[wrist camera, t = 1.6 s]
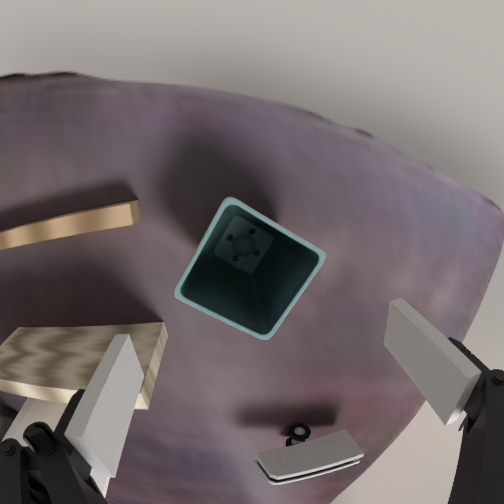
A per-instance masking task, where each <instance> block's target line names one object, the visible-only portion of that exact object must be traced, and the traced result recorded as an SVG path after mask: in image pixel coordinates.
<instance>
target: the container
mask: <svg viewBox="0 0 504 504" xmlns="http://www.w3.org/2000/svg"><path fill="white" fill-rule="evenodd" d="M66 406H68V404H67V403H60V402H53V401H47V400H41V399H36V398H30V397H28V399H27V400H26V402H25V404H24V405H23V407H22V408H21V410H20V411H19V413H18V415H17V416H16V418H15V419H14V421H13V423H12V424H11V426H10V428H9V430H8V431H7V433H6V435H5V436H4V438H3V440H2V441H4V440H5V439H8V438H14V439H16V440H17V441H18V442H19V443H20V444H21V445H22V446H28V445H27V444H26V442H25V441H24V440H23V433H24V431H25V429H26V428H27V427H28V426H29V425H30V424H32V423H34V422H38V421H40V422H45V423H46V424H48V425H49V427H50V428H51V429H52V431H53V432H54V430H55V428H56V426H57V424H58V422H59V420H60V418H61V416H62V414H63V413H64V410H65V408H66ZM0 444H1V443H0ZM90 475H91V476H92V477H93V479H94V481H95V482H96V484H97V486H98V488H99V490H100V491H101V493H102V495H103V496H104V498H105V496H106V491H107V487H108V483H109V479H110V477H106V476H101V475H98V474H97V473H96V472H95V471H94V470H93V469H91V473H90Z"/></svg>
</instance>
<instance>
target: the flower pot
mask: <svg viewBox="0 0 504 504" xmlns="http://www.w3.org/2000/svg"><path fill="white" fill-rule="evenodd" d="M250 229H253V230H254V233H253V234H250V233H249V230H250ZM228 235H232V239H228ZM255 250H259V251H260V253H259V254H258V255H256V254H255ZM234 256H238V259H237V260H235V259H234V258H233V257H234ZM325 258H326V253H325V252H324V251H323V250H321V249H320V248H318V247H316V246H315V245H313V244H311V243H309V242H308V241H306V240H304V239H303V238H301V237H299V236H297V235H296V234H294V233H292V232H291V231H289V230H287V229H286V228H284V227H282V226H281V225H279V224H277V223H276V222H274V221H272V220H271V219H269V218H267V217H266V216H264V215H262V214H261V213H259V212H257V211H256V210H254V209H253V208H251V207H249V206H248V205H246V204H244V203H243V202H241V201H240V200H238V199H236V198H234V197H227V198H225V199H224V200H223V202H222V203H221V205H220V207H219V209H218V211H217V213H216V214H215V216H214V218H213V220H212V221H211V223H210V225H209V227H208V229H207V231H206V232H205V234H204V236H203V238H202V240H201V241H200V243H199V245H198V247H197V249H196V251H195V252H194V254H193V256H192V258H191V260H190V262H189V263H188V265H187V267H186V269H185V271H184V272H183V274H182V276H181V278H180V279H179V281H178V283H177V285H176V287H175V289H174V292H173V294H174V296H175V297H176V298H177V299H179V300H180V301H182V302H184V303H186V304H188V305H190V306H192V307H194V308H196V309H198V310H201V311H202V312H204V313H206V314H208V315H210V316H212V317H215V318H217V319H219V320H221V321H223V322H225V323H227V324H229V325H231V326H233V327H235V328H237V329H239V330H242V331H244V332H246V333H248V334H250V335H252V336H255V337H257V338H259V339H262V340H268V339H269V338H270V337H272V335H273V334H274V333H275V331H276V330H277V329H278V327H279V326H280V325H281V323H282V322H283V320H284V319H285V317H286V316H287V314H288V313H289V311H290V310H291V308H292V307H293V306H294V304H295V303H296V301H297V300H298V298H299V297H300V296H301V294H302V293H303V292H304V290H305V289H306V287H307V286H308V284H309V283H310V282H311V280H312V279H313V277H314V276H315V274H316V273H317V271H318V270H319V268H320V267H321V265H322V264H323V262H324V260H325Z"/></svg>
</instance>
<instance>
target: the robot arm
mask: <svg viewBox="0 0 504 504" xmlns="http://www.w3.org/2000/svg"><path fill="white" fill-rule="evenodd" d="M384 345H385V347H386V348H387V349H388V350H389V352H390V353H391V354H392V355H393V357H394V358H395V359H396V361H397V362H398V363H399V364H400V366H401V367H402V368H403V370H404V371H405V372H406V373H407V375H408V376H409V377H410V379H411V380H412V381H413V383H414V384H415V385H416V387H417V388H418V389H419V391H420V392H421V393H422V395H423V396H424V397H425V399H426V400H427V401H428V403H429V404H430V405H431V407H432V408H433V409H434V411H435V412H436V414H437V415H438V416H439V418H440V419H441V420H442V422H443V423H444V425H445V426H446V425H448V424H450V423H452V422H454V421H456V420H458V419H459V417H460V415H461V413H462V412H463V410H464V411H465V412H466V413H467V415H466V417H465V419H464V420H463V422H462V424H461V426H460V428H459V430H458V431H460V430H461V429H462V427H463V426H464V429H463V437H462V443H461V449H460V455H459V460H458V465H457V470H456V474H455V478H454V482H453V486H452V490H451V494H450V498H449V501H448V504H504V371H503V370H499V369H493V370H489V369H488V368H487V367H486V366H485V365H484V364H483V363H482V362H481V361H480V360H479V359H478V358H477V357H476V356H475V355H474V354H471V352H470V351H469V350H468V349H466V347H465V346H464V345H463V344H462V343H461V342H459V341H457V340H455V339H453V338H451V337H450V338H446V337H445V336H444V335H443V334H442V333H441V332H439V331H438V330H437V329H436V328H435V327H434V326H433V325H432V324H431V323H429V322H428V321H427V320H426V319H425V318H424V317H423V316H422V315H420V314H419V313H418V312H417V311H416V310H415V309H414V308H413V307H411V306H410V305H409V304H408V303H407V302H406V301H404V300H403V299H402V298H400V299H396V300H391V301H390V304H389V312H388V319H387V326H386V332H385V339H384ZM143 379H144V374H143V371H142V368H141V366H140V363H139V361H138V358H137V355H136V352H135V350H134V347H133V344H132V341H131V338H130V335H129V334H116V335H115V336H114V338H113V340H112V342H111V343H110V345H109V347H108V349H107V351H106V352H105V354H104V356H103V358H102V360H101V362H100V363H99V365H98V367H97V369H96V371H95V373H94V375H93V377H92V378H91V380H90V382H89V384H88V386H87V388H86V389H79V390H78V391H77V392H76V393H75V394H74V395H72V397H71V399H70V401H69V403H68V406H66V408H65V410H64V413H63V414H62V416H61V418H60V420H59V422H58V424H57V426H56V428H55V430H54V432H53V431H52V429H51V428H50V427H49V425H48V424H46V423H45V422H40V421H38V422H34V423H32V424H30V425H29V426H28V427H27V428H26V429H25V431H24V433H23V440H24V441H25V442H26V444H27V445H28V446H22V445H21V444H20V443H19V442H18V441H17V440H16V439H14V438H8V439H5V440H4V441H2V440H3V438H4V436H5V435H6V433H7V431H8V430H9V428H10V426H11V424H12V423H13V421H14V419H15V418H16V416H17V415H18V414H17V413H15V412H13V411H10V410H3V411H2V412H1V414H0V443H1V444H0V504H108V503H107V501H106V500H105V498H104V496H103V495H102V493H101V491H100V490H99V488H98V486H97V484H96V482H95V481H94V479H93V477H92V476H91V475H90V473H91V469H93V470H94V471H95V472H96V473H97V474H98V475H101V476H106V477H112V478H115V476H116V472H117V468H118V464H119V461H120V457H121V453H122V449H123V446H124V442H125V438H126V435H127V431H128V428H129V425H130V421H131V418H132V414H133V411H134V408H135V404H136V401H137V398H138V395H139V392H140V388H141V385H142V382H143Z"/></svg>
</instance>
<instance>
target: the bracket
mask: <svg viewBox="0 0 504 504" xmlns="http://www.w3.org/2000/svg"><path fill="white" fill-rule="evenodd" d="M288 433H289V435H290V438H288V439H287V440H286V447H284V448H280V449H276V450H272V451H267V452H263V453H258V454H256V456H255V457H256V459H257V461H255V464H256V466H257V467H258V468H259V470H260V471H261V473H262V474H263V475H264V477H265V478H266V480H267V481H268V482H269V483H271V484H273V485H279V484H285V483H289V482H294V481H298V480H303V479H307V478H311V477H315V476H318V475H322V474H325V473H329V472H332V471H336V470H339V469H342V468H345V467H348V466H351V465H354V464H357V463H359V462H360V460H359V459H358V458H361V457H363V455H364V453H363V451H362V450H361V449H360V447H359V446H358V445H357V444H356V442H355V441H354V440H353V438H352V437H351V436H350V434H349V433H348V432H347V430H346V429H343V430H340V431H337V432H334V433H332V434H329V435H326V436H322V437H319V438H316V439H313V440H310V441H305V439H307V438H309V436H310V433H311V431H310V428H309V427H308V426H306V425H305V424H300V423H299V424H294V425H293V426H291V427H290V429H289V432H288Z"/></svg>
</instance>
